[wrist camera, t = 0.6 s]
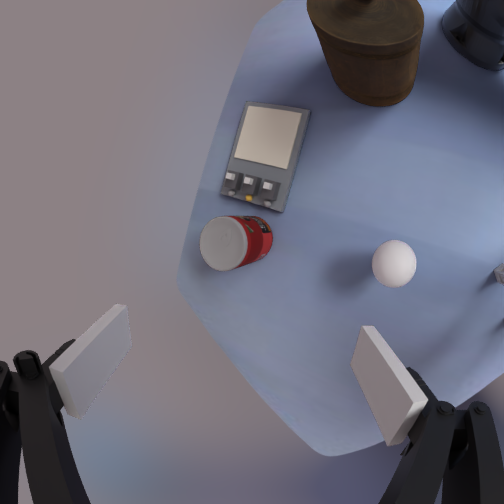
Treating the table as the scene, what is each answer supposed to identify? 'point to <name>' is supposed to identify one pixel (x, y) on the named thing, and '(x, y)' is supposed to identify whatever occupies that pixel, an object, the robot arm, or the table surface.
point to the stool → (500, 273)
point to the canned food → (234, 241)
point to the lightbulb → (394, 263)
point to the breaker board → (265, 154)
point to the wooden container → (370, 46)
